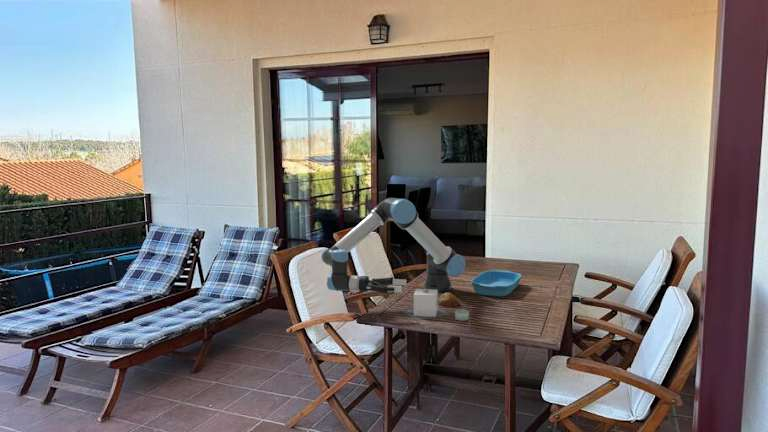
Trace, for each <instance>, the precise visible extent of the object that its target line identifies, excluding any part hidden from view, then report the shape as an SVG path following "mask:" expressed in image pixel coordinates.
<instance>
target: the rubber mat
mask: <svg viewBox="0 0 768 432" xmlns="http://www.w3.org/2000/svg"><path fill="white" fill-rule="evenodd" d="M402 313H404V315H406V316H408V317H410V318H411V319H413V320H414V321H418V320H425V319H432V318H433V317H428V316H414V309H411V310H410V309H409V310H404V311H403V310H402ZM450 315H451V314H450V313H448V312H447V311H445V310H443V309H441V308H439V307H438V311H437V314H436V317H435V318H438V317H443V316H444V317H445V316H450Z"/></svg>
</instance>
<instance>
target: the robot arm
mask: <svg viewBox="0 0 768 432" xmlns="http://www.w3.org/2000/svg"><path fill="white" fill-rule="evenodd" d="M369 213H370V214H369V215H367V216H366V217H365V218H364V219H363V220H362V221H360V222H359V223H358V224H356V226H355V227H353V228H352V229H351V230H350V231H349V232H348V233H346V234H345V235H344V236H343V237H341V239H339V241H337V242H336V243H335V244H334V245H332V246H331V247H329V248H326V249H324V250H323V251H322V252H321V256H320V258H321V260H322V262H323V263H324V264H326V265H328V266H330V267H331V274H328V276H327V279H326V286H327V289H328V290H330V291H336V292H338V291H339V292H352V293H356V292H361V293H368V291H369V292H370V291H371V292H375V293H376V292H377V293H382V294H384V295H385V294H388V293H403V286H407V279H401V278H394V277H393V276H392V277H381V278H372V279H371V280H370V278H369V276H368V275H361V276H360V275H349V274H348V270H349V269H348V268H349V263H348V261H349V255H348V253H349V252H351V251H352V250H353V249H354V248H355V247H356V246H358V245H359V244H360V243H362V241H363V240H364V239H366V238H367V236H369V235H370V234H371V233H373V231H375V230H376V229H377V228H379V226H384V225H385V224H386V223H388V222H390V221H391V222H394V223H395V224H396V225H397V226H398V228H400V229H401V230H406V231H407V232H408V233H409V234H410V235H411V236H412V237H413V238H414V240H416V241H417V243H418V244H419V245H420V246H422V247H423V249H424V250H425V251H426V277H425V280H424V283H423V289H433V290H438V293H441V292H448V291H451V290H452V283H451V281H450V277H459V276H460V275H461V274H462V273H464V271H465V268H466V259H465V258H464V256H462V255H461V254H458V253H457V252H455V250H454V249H453V248H451V246H446V245H445V244H444V243H443V242H442V241H441V240H440V239H439V238H438V237H437V236H436V235H435V234H434V232H433V231H432V230H431V229H430V228H429V227H428V226H427V225H426V224H425V223H424V222H423V221H422V220H421V219H420V218H419V213H418V211H417V209H416V205H414V204H413V202H411V201H410V200H408V199H406V198H398V197H388V198H385V199H384V200H382V201H381V202H379V203H378V204H377V205H375V206H374V207H373V208H372V209H371V210H370V212H369ZM449 276H450V277H449Z"/></svg>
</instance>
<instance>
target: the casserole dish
mask: <svg viewBox="0 0 768 432" xmlns="http://www.w3.org/2000/svg"><path fill="white" fill-rule="evenodd" d="M521 278H522V274H521V273H517V272H513V271H510V270H486V271H482V272H481V273H480V274H478V275H477V276H475V277H473V278H472V279H471V280H470V282H471V285H472V288H473V290H474V292H475V293H476V294H477V295H483V296H491V297H506V296H509V295H510V294H511V293H512V292H513V291H514V290H515V289H516V288H517V287H518V286H519V284H520V281H521Z"/></svg>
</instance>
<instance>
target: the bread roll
mask: <svg viewBox="0 0 768 432" xmlns="http://www.w3.org/2000/svg"><path fill="white" fill-rule="evenodd" d="M438 306H440V307H445V308H448V307H449V308H454V307H458V306H460V300H459V298H458V297H457V296H456V295H455V294H453V293H451V292H445V293H442V294H441V295H440V296H438Z"/></svg>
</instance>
